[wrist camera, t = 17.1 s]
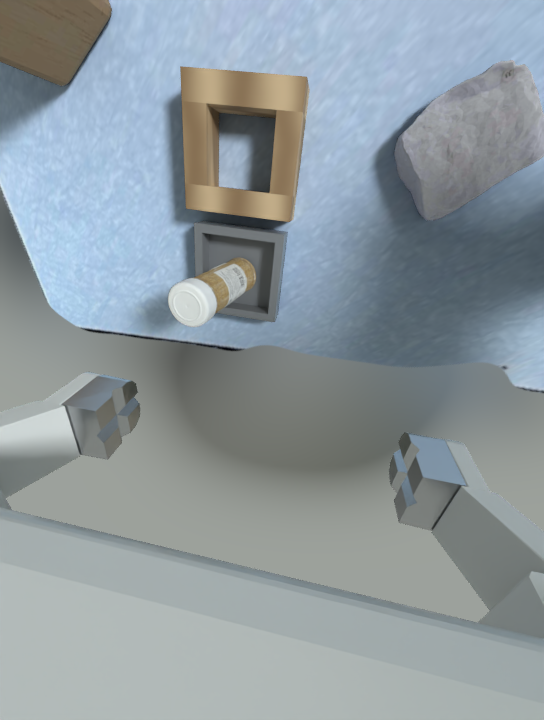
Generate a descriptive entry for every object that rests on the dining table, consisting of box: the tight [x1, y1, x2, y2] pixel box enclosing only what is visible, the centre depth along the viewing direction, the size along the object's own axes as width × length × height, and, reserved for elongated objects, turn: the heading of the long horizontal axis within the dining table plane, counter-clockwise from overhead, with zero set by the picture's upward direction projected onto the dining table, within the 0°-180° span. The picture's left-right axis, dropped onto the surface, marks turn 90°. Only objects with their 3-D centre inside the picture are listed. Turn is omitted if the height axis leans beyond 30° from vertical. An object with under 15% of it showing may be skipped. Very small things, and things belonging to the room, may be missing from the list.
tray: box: [194, 221, 288, 322], centre depth 39 cm, size 11×11×3 cm
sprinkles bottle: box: [168, 257, 256, 327], centre depth 34 cm, size 5×5×14 cm
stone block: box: [394, 60, 544, 221], centre depth 30 cm, size 12×5×10 cm
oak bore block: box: [180, 67, 309, 222], centre depth 32 cm, size 12×12×4 cm
